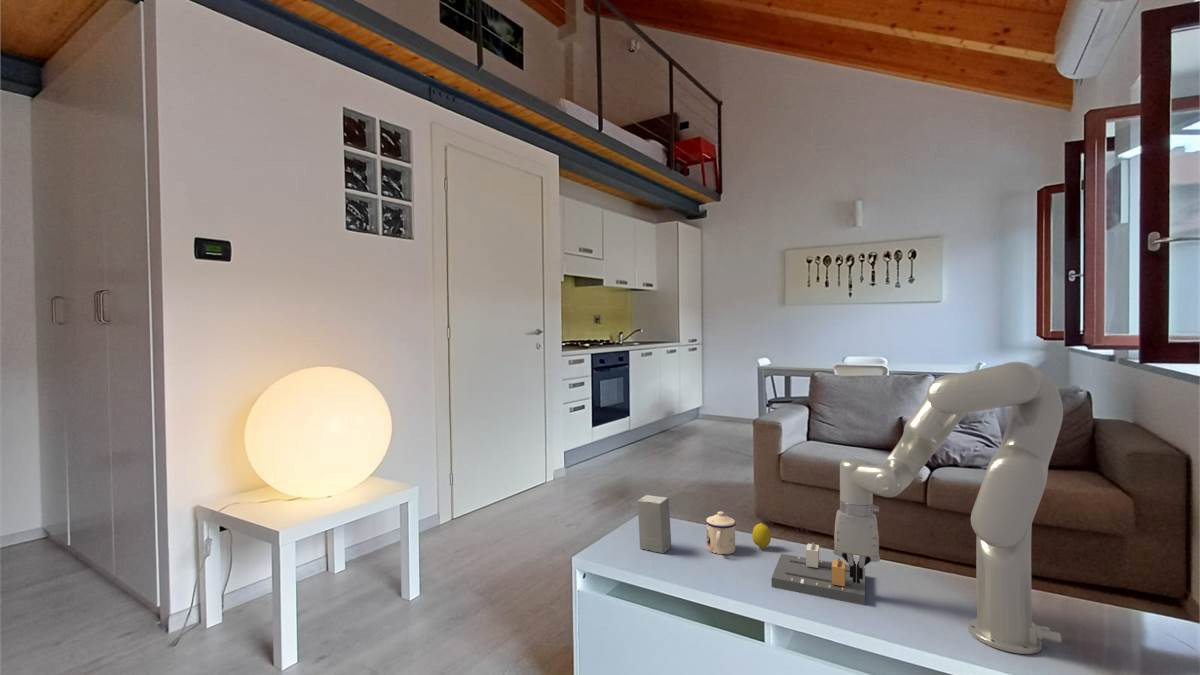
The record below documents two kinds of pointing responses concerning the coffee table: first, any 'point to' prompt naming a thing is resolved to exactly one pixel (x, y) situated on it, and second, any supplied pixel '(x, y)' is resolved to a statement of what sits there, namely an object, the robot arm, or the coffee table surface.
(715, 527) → the teacup with lid
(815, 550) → the fader white
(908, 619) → the coffee table surface
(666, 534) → the skincare box
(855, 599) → the console
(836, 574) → the fader orange
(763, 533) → the lemon
